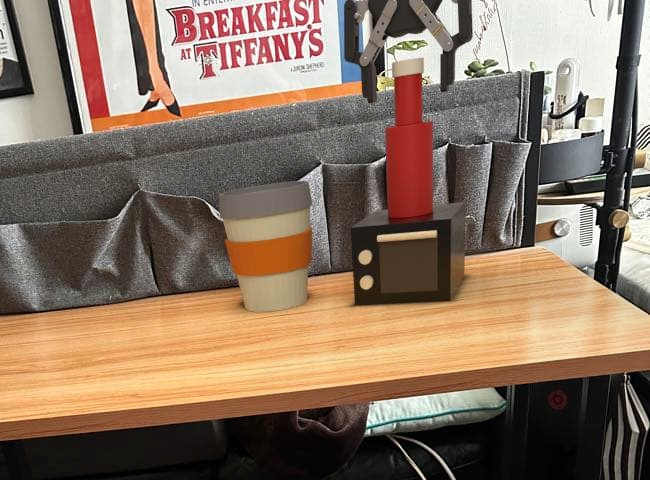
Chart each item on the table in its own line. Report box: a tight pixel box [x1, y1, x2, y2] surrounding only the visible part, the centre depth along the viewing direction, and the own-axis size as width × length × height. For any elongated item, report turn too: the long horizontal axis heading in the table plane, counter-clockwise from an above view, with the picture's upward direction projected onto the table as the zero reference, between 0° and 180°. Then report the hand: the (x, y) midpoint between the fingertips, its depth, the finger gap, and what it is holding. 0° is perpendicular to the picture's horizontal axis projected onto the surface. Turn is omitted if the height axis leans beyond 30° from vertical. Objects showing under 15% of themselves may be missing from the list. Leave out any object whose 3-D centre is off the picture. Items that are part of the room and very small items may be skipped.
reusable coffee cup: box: [218, 180, 313, 313], centre depth 99 cm, size 13×13×15 cm
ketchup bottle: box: [384, 57, 434, 218], centre depth 87 cm, size 6×6×16 cm
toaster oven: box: [350, 201, 467, 307], centre depth 94 cm, size 12×15×10 cm
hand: (408, 97), depth 85 cm, fingers open, 8 cm apart
